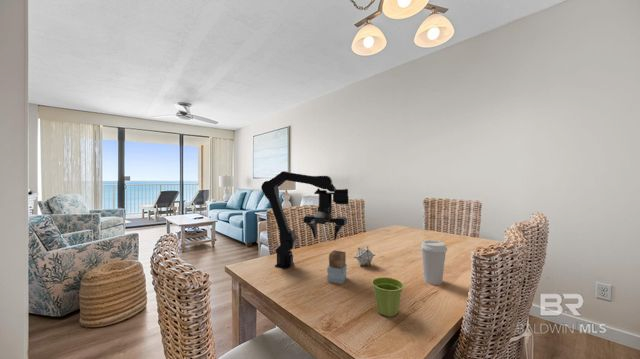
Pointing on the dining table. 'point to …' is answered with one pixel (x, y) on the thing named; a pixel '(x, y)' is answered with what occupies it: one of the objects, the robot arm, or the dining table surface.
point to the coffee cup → (433, 261)
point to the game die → (364, 256)
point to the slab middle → (337, 275)
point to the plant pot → (387, 295)
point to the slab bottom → (337, 280)
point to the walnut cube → (337, 259)
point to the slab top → (337, 270)
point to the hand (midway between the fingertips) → (325, 239)
